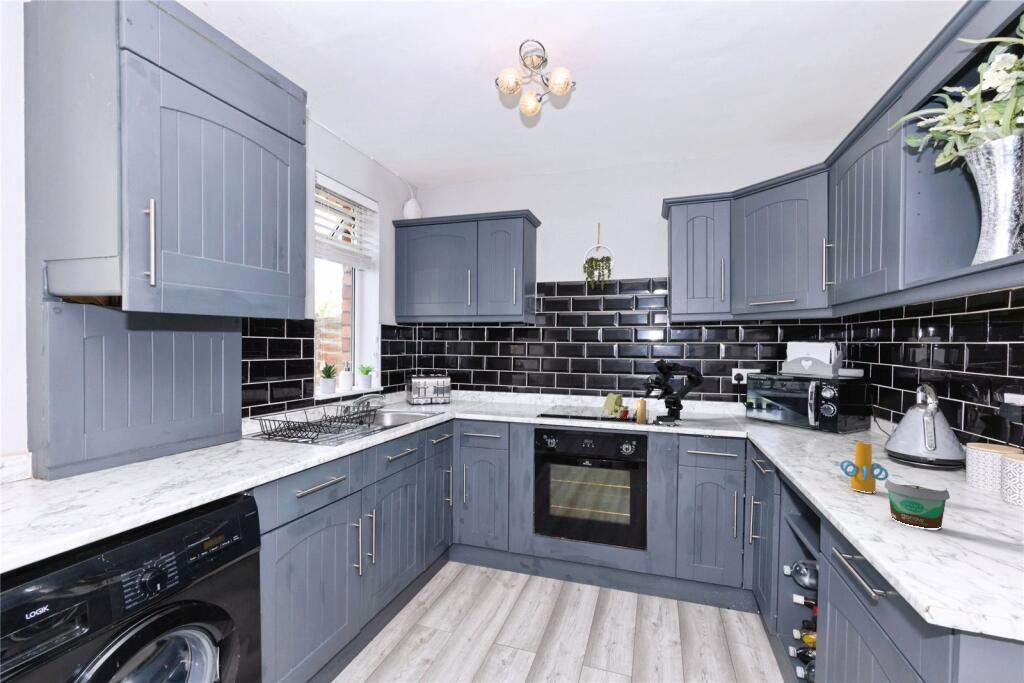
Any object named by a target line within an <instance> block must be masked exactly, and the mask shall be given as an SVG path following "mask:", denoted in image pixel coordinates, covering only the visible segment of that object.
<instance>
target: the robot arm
mask: <svg viewBox="0 0 1024 683" xmlns="http://www.w3.org/2000/svg"><path fill="white" fill-rule="evenodd" d="M653 366H654V368H655V369H656V371H657V372H658V373H659V374H655V373H654V374H650V377H649V380H650V381H652V383H653V384H652V383H651V382H650V381H648V382H647V381H645V382H644V383H643V384H642V386H643V387H644V389H645V392H644V397H643V398H644V399H647V398H649V396H650V395H651V394H653V391H654V390H658V391H660V393H659V395H657V396H658V397H657V401H659V400H662V399H664V401H663V402H664V406H665V410H666V409H667V412H666V413H667V414H666V415H668V416H671V417H675V421H681V420H680V419H681V411H683V408H684V406H683V404H682V400H683V399H684V398H685V397H686V396H687V395H688V394H689V393H690V392H691V391H692V390H694V388H698V387H701V386H702V385H703V384H704V383H705V382H704V381H705V378H704V376H703V375H702V373H701V372H700V371H699V370H698V369H697V367H695V366H691V365H690V366H688V365H682V364H680V363H678V362H675V361H674V362H673V361H672V362H671V361H668V362H665V359H664V358H660V359H658V360H657V361H656V362H654V364H653ZM679 372H682V373H683V372H684V373H686V377H687V382H686V383H685V384H683V386H682V387H680V388H679V389H678V390H677V391H676V392H675V389H674V387H673V386H672V384H669V382H670V380H671V379H675V375H674V373H679Z"/></svg>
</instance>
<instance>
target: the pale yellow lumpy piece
mask: <svg viewBox="0 0 1024 683" xmlns="http://www.w3.org/2000/svg"><path fill="white" fill-rule="evenodd" d="M622 397H623V394H622V393H621V394H620V393H619V394H616V393H615V394H614V393H613V392H610V393H608V394H607V396H606V399H605V401H604V403H603V405H602V407H603V411H602V413H601V416H604V413H605V411H606V413H607V414H608V416H612V415H613V416H616V419H617V418H620V419H623V418H625V419H626V418H628V415H629V413H630V410H629V408H630V406H628V405H625V406H624V405H623V403H624V402H623V400H624V399H623V398H622Z"/></svg>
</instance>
